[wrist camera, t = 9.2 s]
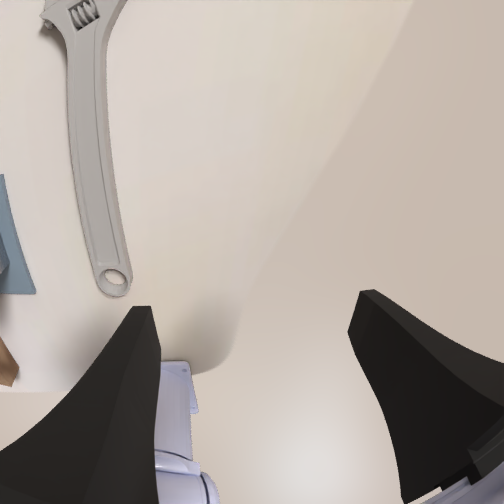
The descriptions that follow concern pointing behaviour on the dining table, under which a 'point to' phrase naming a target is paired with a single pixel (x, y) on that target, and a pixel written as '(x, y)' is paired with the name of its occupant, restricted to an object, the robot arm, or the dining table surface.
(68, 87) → the adjustable wrench
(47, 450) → the robot arm
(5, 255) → the steel peg
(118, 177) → the dining table surface
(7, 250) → the slate mat
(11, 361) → the brown flat rectangular block
